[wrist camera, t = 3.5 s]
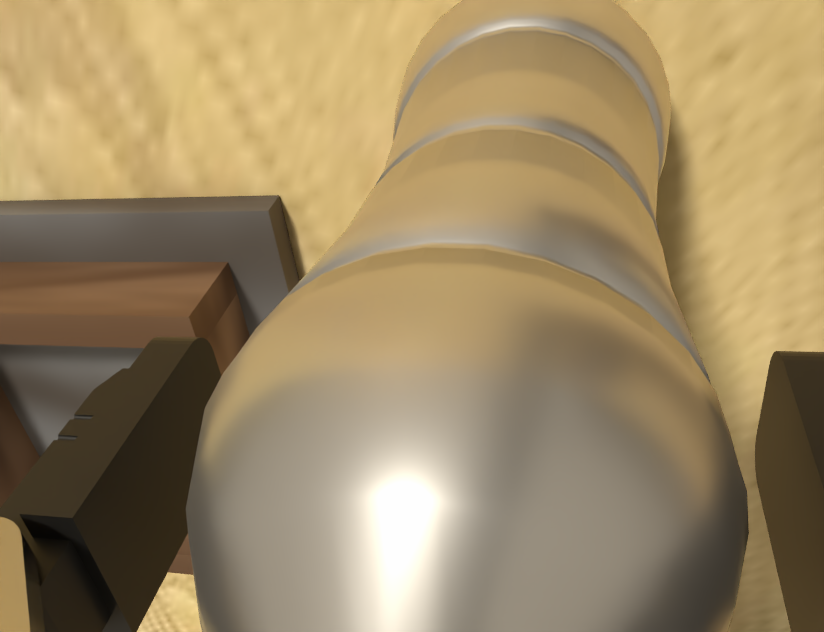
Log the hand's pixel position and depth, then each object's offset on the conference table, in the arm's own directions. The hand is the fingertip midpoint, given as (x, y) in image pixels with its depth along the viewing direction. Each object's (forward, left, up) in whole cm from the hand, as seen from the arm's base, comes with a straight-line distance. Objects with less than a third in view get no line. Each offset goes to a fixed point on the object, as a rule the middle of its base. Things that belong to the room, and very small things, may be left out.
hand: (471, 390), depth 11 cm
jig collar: (+11, -16, -12) cm, 23 cm away
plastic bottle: (0, 0, -12) cm, 12 cm away
